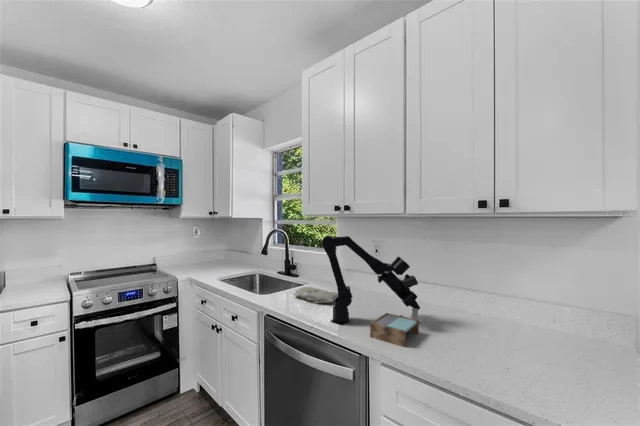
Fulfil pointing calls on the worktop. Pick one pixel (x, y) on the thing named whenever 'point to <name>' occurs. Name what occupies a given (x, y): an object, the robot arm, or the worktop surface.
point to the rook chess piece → (415, 314)
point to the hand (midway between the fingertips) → (418, 307)
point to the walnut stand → (391, 332)
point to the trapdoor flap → (397, 322)
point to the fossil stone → (315, 295)
